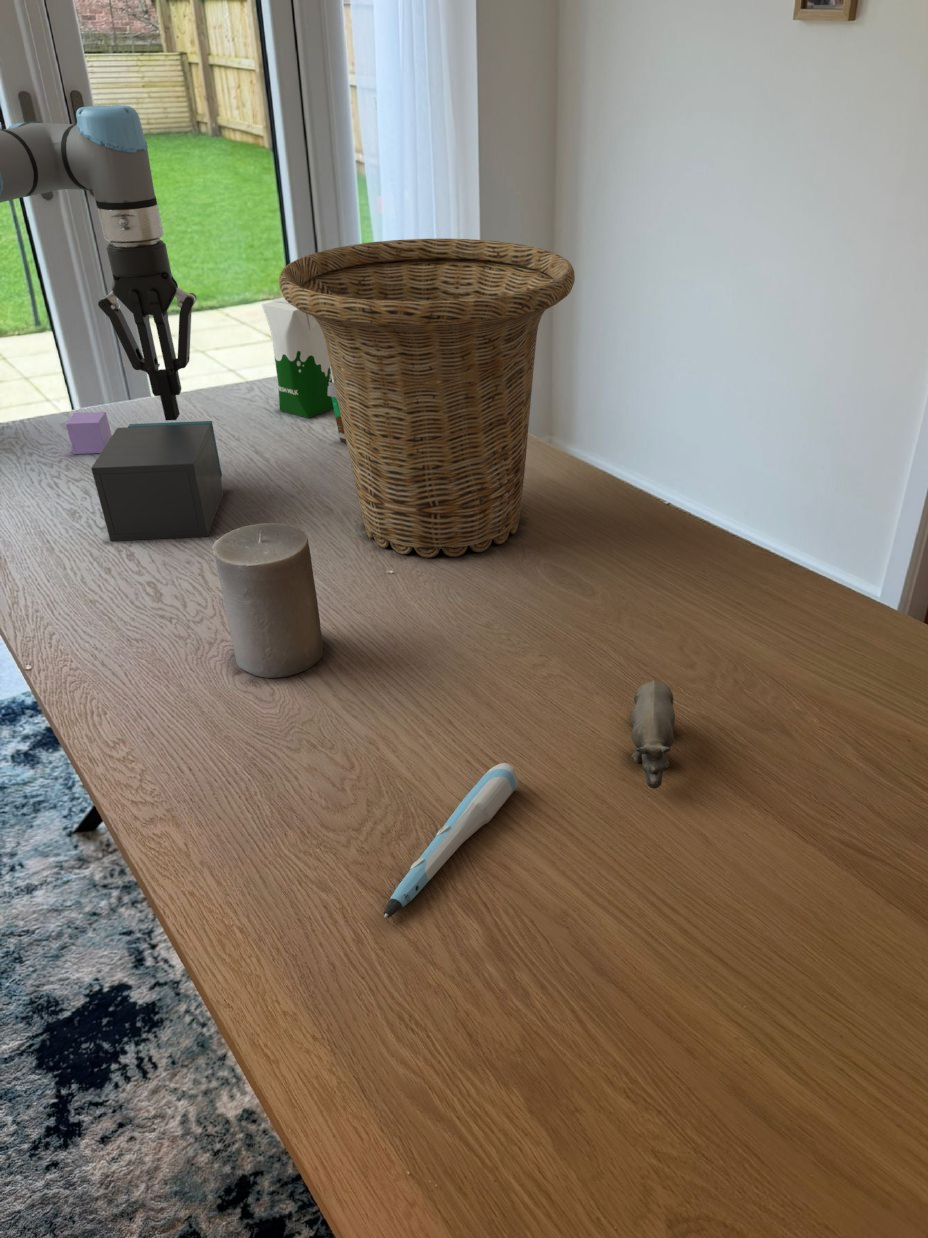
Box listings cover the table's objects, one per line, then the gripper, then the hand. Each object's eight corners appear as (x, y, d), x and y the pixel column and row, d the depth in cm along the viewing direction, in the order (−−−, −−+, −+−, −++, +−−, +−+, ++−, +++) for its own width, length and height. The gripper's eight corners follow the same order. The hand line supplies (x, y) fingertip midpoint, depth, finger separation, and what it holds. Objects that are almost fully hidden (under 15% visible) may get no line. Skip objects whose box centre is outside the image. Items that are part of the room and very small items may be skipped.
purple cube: (73, 454, 162) (65, 423, 159) (81, 443, 166) (73, 412, 164) (106, 453, 163) (98, 422, 160) (113, 441, 167) (105, 411, 164)
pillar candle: (323, 629, 118) (307, 507, 109) (324, 674, 110) (306, 547, 101) (237, 636, 116) (213, 514, 108) (231, 683, 108) (205, 555, 100)
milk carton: (344, 406, 180) (331, 287, 169) (307, 421, 174) (291, 298, 163) (308, 397, 185) (293, 280, 173) (271, 411, 178) (253, 290, 167)
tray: (150, 464, 156) (138, 410, 151) (227, 461, 157) (217, 407, 152) (122, 517, 140) (107, 459, 136) (208, 513, 141) (196, 455, 137)
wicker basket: (485, 457, 160) (478, 227, 141) (621, 539, 136) (635, 275, 117) (274, 509, 145) (234, 258, 126) (385, 611, 121) (357, 320, 102)
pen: (491, 780, 95) (490, 756, 93) (521, 790, 94) (521, 766, 92) (370, 918, 81) (367, 892, 79) (404, 932, 80) (401, 906, 78)
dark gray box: (133, 496, 149) (117, 427, 143) (223, 492, 150) (210, 423, 144) (110, 541, 137) (90, 467, 131) (207, 536, 138) (192, 463, 132)
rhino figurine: (626, 806, 92) (630, 753, 88) (630, 717, 103) (633, 667, 100) (672, 809, 91) (678, 756, 88) (671, 719, 103) (676, 669, 99)
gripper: (76, 248, 131) (120, 427, 145) (180, 244, 132) (214, 423, 146) (91, 237, 138) (132, 410, 151) (190, 234, 139) (222, 407, 152)
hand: (172, 417), depth 148 cm, fingers closed
